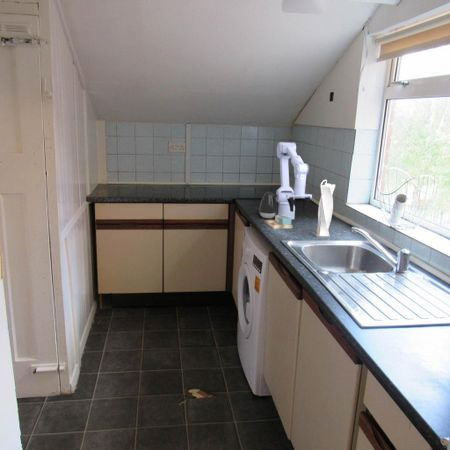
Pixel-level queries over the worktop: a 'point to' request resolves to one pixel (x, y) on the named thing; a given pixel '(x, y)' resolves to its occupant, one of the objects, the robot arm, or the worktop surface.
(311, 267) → the worktop surface
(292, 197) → the robot arm
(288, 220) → the stub
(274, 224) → the board
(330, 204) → the skyscraper
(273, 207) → the dark egg-shaped dome
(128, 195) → the worktop surface
